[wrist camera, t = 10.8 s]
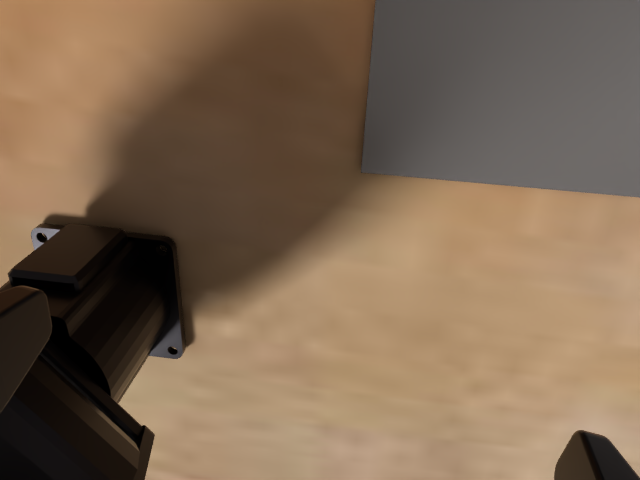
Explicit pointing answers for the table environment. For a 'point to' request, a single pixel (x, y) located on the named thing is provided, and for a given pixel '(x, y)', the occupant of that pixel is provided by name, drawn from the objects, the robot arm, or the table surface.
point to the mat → (507, 93)
